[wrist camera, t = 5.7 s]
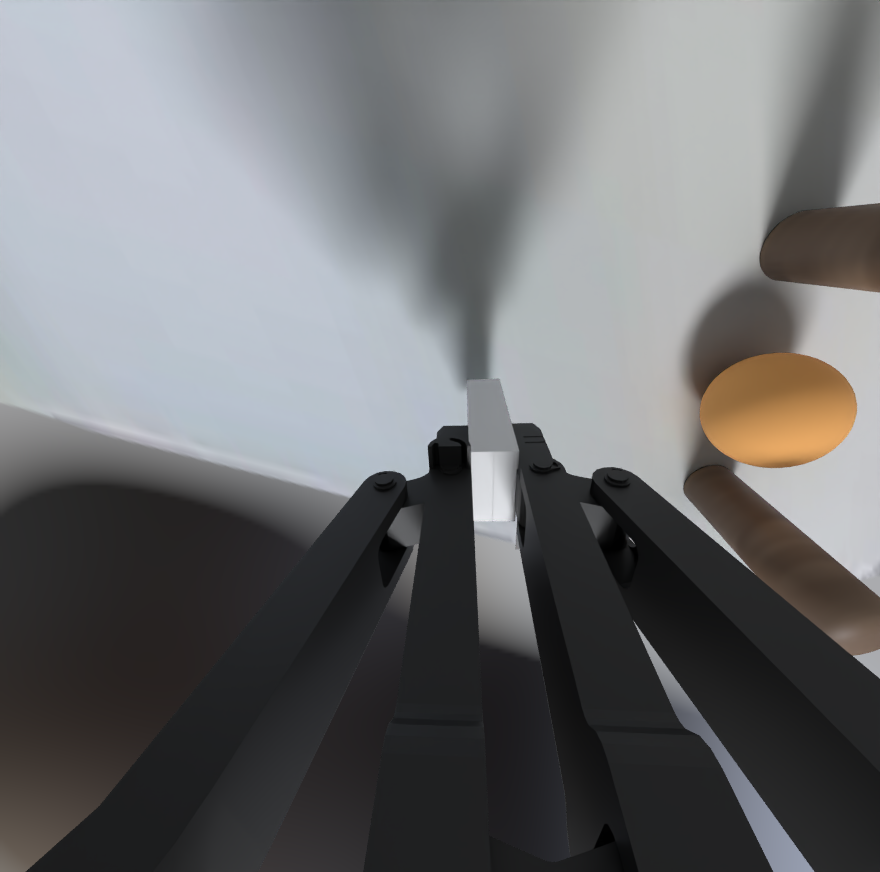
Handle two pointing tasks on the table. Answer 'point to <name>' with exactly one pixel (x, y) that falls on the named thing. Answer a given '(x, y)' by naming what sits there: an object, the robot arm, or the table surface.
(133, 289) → the table surface
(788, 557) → the far post
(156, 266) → the table surface
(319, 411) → the table surface
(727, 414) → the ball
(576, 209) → the table surface
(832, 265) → the near post
